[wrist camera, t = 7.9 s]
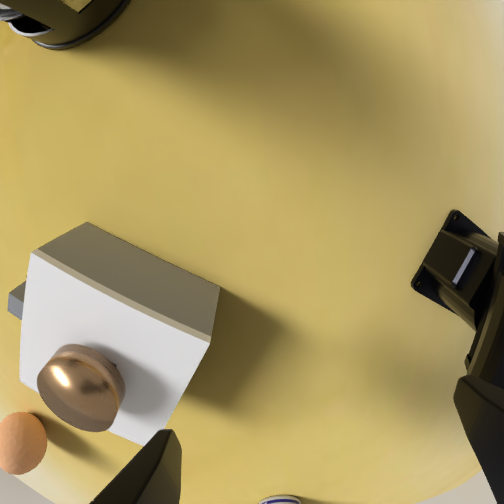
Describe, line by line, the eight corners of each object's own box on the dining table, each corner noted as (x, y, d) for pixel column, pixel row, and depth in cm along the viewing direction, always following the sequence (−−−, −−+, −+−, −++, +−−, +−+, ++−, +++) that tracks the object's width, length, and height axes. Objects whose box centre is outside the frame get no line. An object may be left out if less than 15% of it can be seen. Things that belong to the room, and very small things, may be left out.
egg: (59, 442, 27) (33, 494, 19) (19, 423, 26) (-10, 469, 19) (53, 413, 25) (21, 469, 17) (11, 391, 25) (-26, 440, 17)
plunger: (170, 306, 20) (132, 394, 12) (147, 361, 22) (112, 449, 14) (101, 272, 20) (32, 340, 12) (85, 330, 21) (30, 405, 13)
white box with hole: (220, 286, 21) (210, 343, 15) (169, 387, 24) (152, 449, 17) (64, 209, 19) (4, 235, 13) (40, 321, 22) (-2, 365, 16)
